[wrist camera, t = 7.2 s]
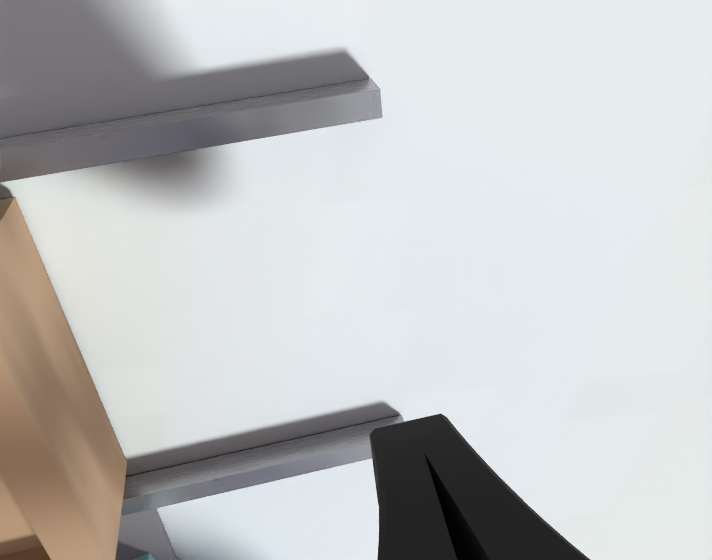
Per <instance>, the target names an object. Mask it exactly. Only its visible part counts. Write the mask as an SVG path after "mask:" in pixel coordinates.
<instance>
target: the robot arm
mask: <svg viewBox="0 0 712 560" xmlns="http://www.w3.org/2000/svg"><path fill="white" fill-rule="evenodd" d="M369 436H370V444H371V452H372V459H373V467H374V474H375V482H376V490H377V497H378V504H379V547H378V560H590V559H589V558H588V557H586V556H585V555H584V554H583V553H581V552H580V551H579V550H578V549H577V548H575V547H574V546H573V545H572V544H571V543H569V542H568V541H567V540H566V539H565V538H564V537H563V536H561V535H560V534H559V533H558V532H557V531H556V530H555V529H554V528H552V527H551V526H550V525H549V524H548V523H547V522H546V521H544V520H543V519H542V518H541V517H540V516H539V515H538V514H537V513H536V512H535V511H534V510H533V509H532V508H530V507H529V506H528V505H527V504H526V503H525V502H524V501H523V500H522V499H521V498H520V497H519V496H518V495H517V494H516V493H515V492H514V491H513V490H512V489H511V488H510V487H509V486H508V485H507V484H506V483H505V482H504V481H503V480H502V479H501V478H500V477H499V476H498V475H497V474H496V473H495V472H494V471H493V470H492V469H491V468H490V467H489V466H488V465H487V463H486V462H485V461H484V460H483V459H482V458H481V457H480V456H479V455H478V454H477V453H476V451H475V450H474V449H473V448H472V447H471V446H470V445H469V444H468V442H467V441H466V440H465V439H464V438H463V437H462V435H461V434H460V433H459V432H458V431H457V429H456V428H455V427H454V426H453V425H452V423H451V422H450V421H449V420H448V418H447V417H445V416H444V415H442V414H437V415H433V416H428V417H424V418H420V419H415V420H411V421H406V422H402V423H398V424H393V425H389V426H384V427H380V428H376V429H374V430H373V431H372V432H371V434H370V435H369Z"/></svg>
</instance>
